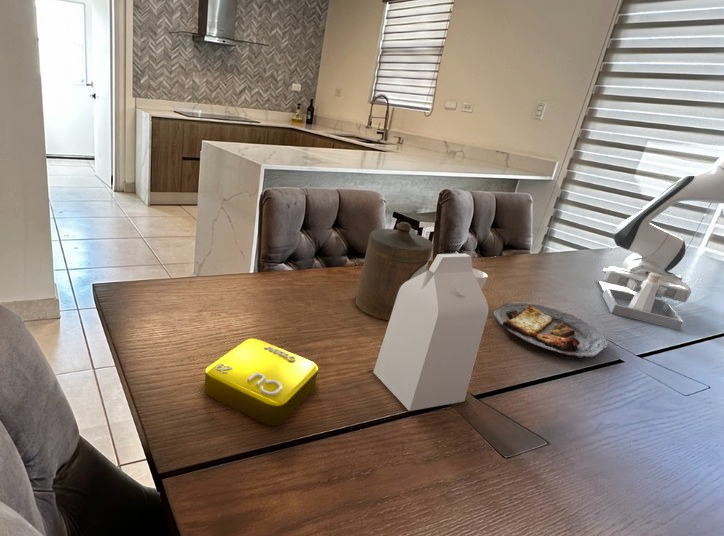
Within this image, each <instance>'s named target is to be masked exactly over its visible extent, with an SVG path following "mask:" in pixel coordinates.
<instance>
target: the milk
mask: <svg viewBox="0 0 724 536" xmlns="http://www.w3.org/2000/svg"><path fill="white" fill-rule="evenodd" d="M472 260H473V259H472V256H471V255H469V254H467V253H466V252H465V253H463V252H462V253H438V254H436V256H435V258H434V260H433V261H432V263H431V265H430V267H429V268H428V269H427V270H426V272H424V273H422V274H420V275H418V276H416V277H414V278H412V279H410V280H408V281H406V282H405V283H404V284H403V285H402V286H401V287H400V289H399V291H398V295H397V298H396V301H395V304H394V308H393V311H392V314H391V317H390V320H388V324H387V327H386V330H385V333H384V337H383V340H382V343H381V346H380V349H379V352H378V355H377V359H376V362H375V365H374V369H373V371H372V373H373V374H374V375H375V376H376V377H377V378H378V379H379V380H380V381H381V383H382V384H383V385H385V387H386V388H387V389H388V390H389V391H390V392H391V393H392V394H393V396H394V397H395V398H397V400H398V401H399V402H400V403H401V404H402V406H404V408H405V409H407V410H408V412H413V411H417V410H424V409H429V408H434V407H435V408H436V407H440V406H446V405H453V404H457V403H463V402H465V401H466V396H467V393H468V389H469V386H470V382H471V378H472V375H473V371H474V366H475V363H476V360H477V356H478V353H479V349H480V345H481V343H482V342H481V341H482V337H483V334H484V330H485V326H486V323H487V319H488V315H489V304H488V301H487V298H486V297H485V294H484V292H483V289H482V290H481V288H480V286H479V283H478V281H477V279H476V277H475V275H474V273H473V272H472V271H473V269H474V268H473V261H472Z"/></svg>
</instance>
